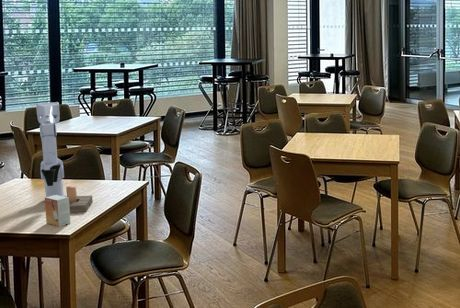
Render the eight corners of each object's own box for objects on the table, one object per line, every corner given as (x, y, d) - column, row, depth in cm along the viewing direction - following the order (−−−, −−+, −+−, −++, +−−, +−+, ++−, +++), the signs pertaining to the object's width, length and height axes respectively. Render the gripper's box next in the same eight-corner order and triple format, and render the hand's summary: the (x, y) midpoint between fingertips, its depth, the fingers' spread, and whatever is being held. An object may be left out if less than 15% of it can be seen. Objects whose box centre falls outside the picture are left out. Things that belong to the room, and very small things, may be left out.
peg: (67, 206, 274) (66, 186, 272) (77, 206, 275) (76, 185, 273) (67, 209, 270) (66, 188, 269) (77, 208, 271) (75, 187, 269)
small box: (46, 223, 250) (44, 197, 248) (58, 220, 255) (56, 194, 253) (59, 227, 245) (57, 200, 243) (71, 223, 250) (69, 197, 248)
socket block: (60, 203, 280) (59, 196, 280) (92, 202, 281) (92, 195, 280) (51, 213, 264) (51, 206, 264) (86, 212, 265) (85, 205, 264)
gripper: (44, 149, 276) (46, 180, 278) (35, 155, 261) (38, 188, 264) (61, 149, 276) (63, 180, 278) (53, 154, 262) (55, 187, 264)
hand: (52, 183), depth 271 cm, fingers open, 7 cm apart
